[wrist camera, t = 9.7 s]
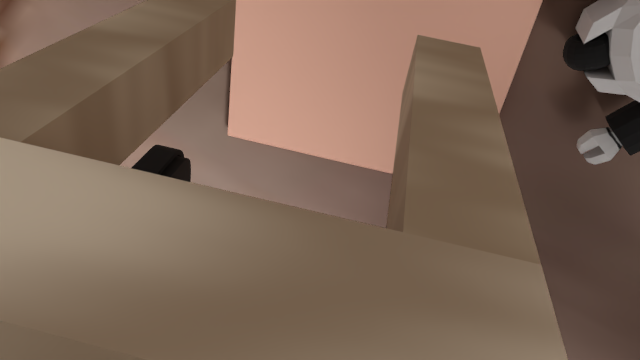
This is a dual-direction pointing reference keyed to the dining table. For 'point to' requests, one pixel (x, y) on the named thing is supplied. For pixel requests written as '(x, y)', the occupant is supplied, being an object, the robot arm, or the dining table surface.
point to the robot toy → (609, 72)
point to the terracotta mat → (354, 67)
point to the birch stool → (251, 219)
